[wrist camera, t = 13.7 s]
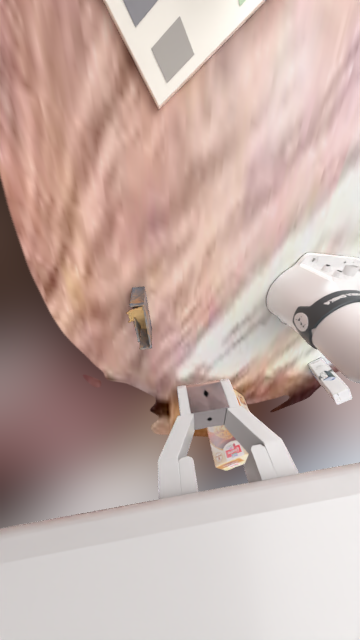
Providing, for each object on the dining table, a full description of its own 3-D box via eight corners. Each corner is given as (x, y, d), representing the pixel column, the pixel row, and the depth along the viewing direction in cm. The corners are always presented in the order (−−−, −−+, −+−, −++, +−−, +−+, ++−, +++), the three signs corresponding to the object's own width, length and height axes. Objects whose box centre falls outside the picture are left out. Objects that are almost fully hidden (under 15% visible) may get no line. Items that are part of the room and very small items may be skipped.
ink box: (325, 368, 68) (353, 398, 58) (311, 375, 69) (337, 405, 60) (320, 356, 63) (350, 387, 54) (306, 364, 65) (332, 395, 55)
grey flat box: (130, 287, 40) (125, 312, 33) (144, 285, 41) (143, 310, 33) (139, 328, 47) (137, 357, 39) (151, 326, 47) (151, 355, 40)
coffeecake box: (233, 388, 68) (258, 449, 52) (243, 395, 72) (268, 454, 56) (200, 406, 72) (214, 468, 57) (211, 412, 76) (226, 471, 61)
